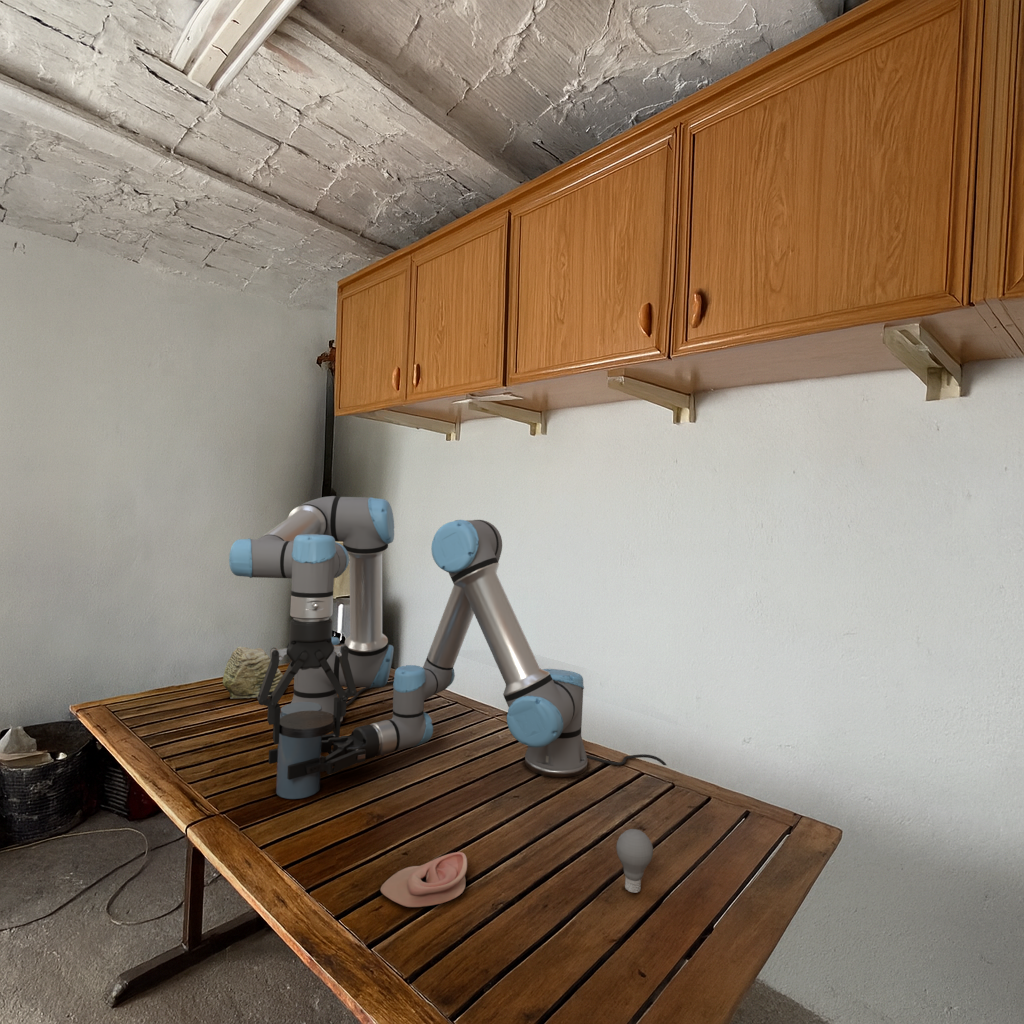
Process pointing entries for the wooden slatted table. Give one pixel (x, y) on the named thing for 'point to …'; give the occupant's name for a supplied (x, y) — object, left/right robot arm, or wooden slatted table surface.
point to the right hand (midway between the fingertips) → (278, 764)
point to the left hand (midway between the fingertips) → (306, 737)
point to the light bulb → (634, 857)
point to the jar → (297, 758)
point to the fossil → (247, 673)
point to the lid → (307, 724)
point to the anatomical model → (428, 882)
